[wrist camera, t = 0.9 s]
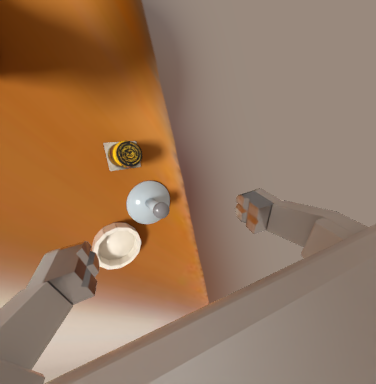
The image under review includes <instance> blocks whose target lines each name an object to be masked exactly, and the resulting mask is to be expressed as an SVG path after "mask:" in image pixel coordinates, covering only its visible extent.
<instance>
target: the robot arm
mask: <svg viewBox="0 0 376 384" xmlns="http://www.w3.org/2000/svg"><path fill="white" fill-rule="evenodd" d="M236 202H237V203H238V204H237V206H236V211H235V212H236V215H237V217H238V219H239V220H240V221H241V222H244V223H246V227H247V228H248V229H249V230H250V231H251V232H252V233H253V234H256V233H259V232H262V231H264V230H267V231H269V232H271V233H273V234H276V235H278V236H280V237H282V238H285V239H286V240H289V241H291V242H293V243H296V244H298V245H300V246H302V247H304V248H303V250H302V252H301V256H302V257H303V258H304V259H302V260H300V261H298V262H296V263H293V264H292V265H289V266H287V267H285V268H283V269H281V270H279V271H277V272H275V273H273V274H271V275H269V276H266V277H265V278H262V279H260V280H258V281H256V282H254V283H252V284H250V285H248V286H246V287H244V288H242V289H240V290H237V291H235V292H233V293H231V294H229V295H227V296H225V297H223V298H221V299H219V300H217V301H215V302H212V303H210V304H208V305H206V306H204V307H202V308H200V309H198V310H196V311H194V312H192V313H190V314H188V315H185V316H183V317H181V318H179V319H177V320H175V321H173V322H171V323H169V324H167V325H165V326H163V327H161V328H158V329H156V330H154V331H152V332H150V333H148V334H146V335H144V336H142V337H140V338H138V339H136V340H134V341H132V342H129V343H127V344H125V345H123V346H121V347H119V348H117V349H115V350H113V351H111V352H109V353H107V354H105V355H102V356H100V357H98V358H96V359H94V360H92V361H90V362H88V363H86V364H84V365H82V366H80V367H78V368H76V369H73V370H71V371H69V372H67V373H65V374H63V375H61V376H59V377H57V378H55V379H53V380H51V381H49V382H46V383H44V379H45V377H44V375H43V374H41V373H38V372H35V371H33V370H32V368H33V367H34V365H35V363H36V362H37V360H38V359H39V357H40V356H41V354H42V353H43V351H44V350H45V348H46V347H47V345H48V344H49V342H50V341H51V339H52V337H53V336H54V334H55V333H56V331H57V330H58V328H59V327H60V325H61V324H62V322H63V321H64V319H65V318H66V316H67V315H68V313H69V311H70V310H71V308H72V307H73V305H74V304H76V303H79V302H81V301H83V300H86V299H88V298H91V297H93V296H95V291H96V285H97V280H96V279H95V276H96V275H97V274H98V272H99V259H98V256H97V254H96V253H95V252H92V251H90V250H91V245H90V244H89V242H86V241H85V242H81V243H77V244H74V245H70V246H67V247H63V248H61V249H57V250H53V251H50V252H48V253H46V254H45V255H44V257H43V258H42V260H41V262H40V264H39V266H38V267H37V269H36V271H35V273H34V275H33V276H32V278H31V280H30V282H29V283H28V285H27V287H26V289H24V290H21V291H20V292H18V293H17V294H16V295H15V296H14V297H13V298H12V299H11V300H10V301H8V302H7V303H6V304H5V305H4V306H3V307H2V308H1V309H0V384H43V383H44V384H376V224H375V225H372V226H370V227H367V226H365V225H363V224H361V223H359V222H357V221H355V220H353V219H350V218H349V217H347V216H345V215H343V214H341V213H339V212H337V211H332V210H327V209H322V208H318V207H313V206H308V205H304V204H299V203H294V202H290V201H285V200H284V201H281V200H280V199H278V198H276V197H275V196H273V195H271V194H270V193H268V192H266V191H265V190H263V189H260V188H259V189H256V190H253V191H250V192H247V193H244V194H241V195H238V196H237V198H236Z"/></svg>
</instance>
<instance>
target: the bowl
mask: <svg viewBox="0 0 376 384" xmlns="http://www.w3.org/2000/svg"><path fill="white" fill-rule="evenodd" d="M140 246H141V240H140V237H139V234H138V233H137V231H136V230H135V228H134V227H132V226H130V225H129V224H127V223H117V222H115V223H112V224H110V225H108V226H105V227H103V228H102V229H101V230H100V231H99V232H98V234H97V235H96V236H95V238H94V241H93V246H92V252H95V253H96V254H97V256H98V259H99V266H100V267H103V268H106V269H117V268H122V267H123V266H125V265H127V264H128V263H130V262H132V261H133V259H134V258H135V257H136V256H137V254H138V253H139V251H140Z"/></svg>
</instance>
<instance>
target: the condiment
mask: <svg viewBox="0 0 376 384" xmlns="http://www.w3.org/2000/svg"><path fill="white" fill-rule="evenodd" d="M103 144H104V148H105V153H106V157H107V161H108V165H109V169H110V171H115V170H122V169H129V168H136V167H141V164H140V161H141V159H142V151H141V149H140V147H139V146H138V145H137V142H136V141H120V142H112V143H103Z"/></svg>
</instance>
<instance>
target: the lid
mask: <svg viewBox="0 0 376 384" xmlns="http://www.w3.org/2000/svg"><path fill="white" fill-rule="evenodd" d="M169 205H170V196H169V193H168V191H167V189H166V188H165V187H164V186H163V185H162V184H160V183H158V182H155V181H144V182H141V183H139V184H137V185H136V186H135V187H134V188H133V189H132V190H131V191H130V193H129V195H128V197H127V202H126V206H127V211H128V213H129V215H130V216H131V217H132V219H133V220H135V221H136V222H138V223H141V224H151V223H155V222H157V221H158V220H160V219H162V218H165V217H166V216H167V215H168V213H169Z"/></svg>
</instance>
